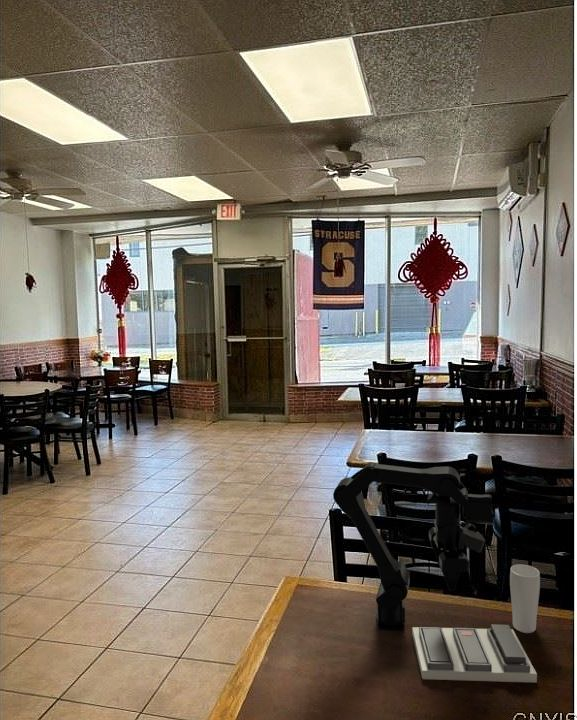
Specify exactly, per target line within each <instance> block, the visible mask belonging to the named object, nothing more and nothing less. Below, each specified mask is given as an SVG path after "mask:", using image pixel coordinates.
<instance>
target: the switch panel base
mask: <svg viewBox="0 0 577 720" xmlns="http://www.w3.org/2000/svg"><path fill="white" fill-rule="evenodd" d="M422 628H424V629H440V632H441V636H442V639H443V642H444V645H445V648H446V651H447V655H448V658H449V661H450V663H443V662H430V661H429V657H428V654H427V650H426V646H425V642H424V638H423V634H422ZM510 629H511V628H510ZM456 630H474V632H475V634H476V637H477V639H478V642H479V644H480V646H481V649H482V651H483V654H484V656H485V658H486V661H487V664H480V663H467V661H466V658H465V655H464V653H463V650H462V647H461V644H460V642H459V639H458V636H457V633H456ZM411 631H412V633H411V636H412V639H413V644H414V649H415V653H416V658H417V661H418V665H419V670H420V675H421V679H422V680H439V681H440V680H441V681H443V680H445V681H470V682H471V681H474V682H502V683H503V682H504V683H505V682H506V683H507V682H508V683H538V681H537V680H538V674H537V671H536V669H535V668H534V666H533V665H532V664H533V663H531V660H530V658H529V657H528V655H527V653H526V651H525V649H524V648H523V645H522V643H521V642H520V640H519V637H518V636H517V634H516V633H515V630H514V629H513V628H512V629H511V631H512V633H513V634H514V636H515V638H516V640H517V642H518V644H519V646H520V648H521V649H522V651H523V653H524V655H525V657H526V664H513V663H506V661H505V659H504V657H503V655H502V653H501V651H500V649H499V646H498V644H497V642H496V640H495V638H494V636H493V634H492V632H491V628H473V627H471V628H469V627H438V626H437V627H433V626H431V627H430V626H428V627H426V626H425V627H424V626H423V627H422V626H419V627H418V626H417V627H415V626H413V627H411Z"/></svg>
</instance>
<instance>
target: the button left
mask: <svg viewBox="0 0 577 720" xmlns="http://www.w3.org/2000/svg"><path fill="white" fill-rule="evenodd" d="M422 634H423V638H424V642H425V646H426V650H427V654H428V657H429V661H430V662H443V663H450V661H449V658H448V655H447V651H446V648H445V645H444V642H443V639H442V636H441V632H440V629H424V628H422Z"/></svg>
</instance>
